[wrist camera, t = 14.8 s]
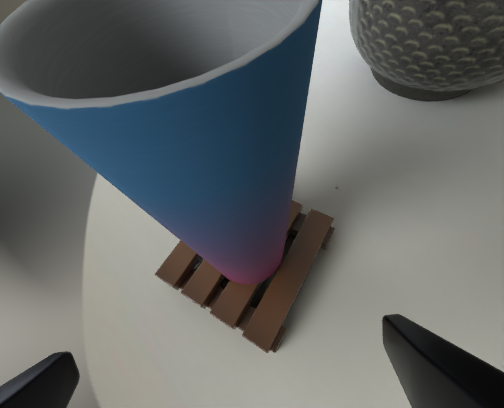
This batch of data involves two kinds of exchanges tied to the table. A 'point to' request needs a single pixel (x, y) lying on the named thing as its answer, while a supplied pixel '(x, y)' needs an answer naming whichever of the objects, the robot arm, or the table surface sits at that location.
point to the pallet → (240, 295)
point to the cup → (176, 109)
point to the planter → (430, 44)
